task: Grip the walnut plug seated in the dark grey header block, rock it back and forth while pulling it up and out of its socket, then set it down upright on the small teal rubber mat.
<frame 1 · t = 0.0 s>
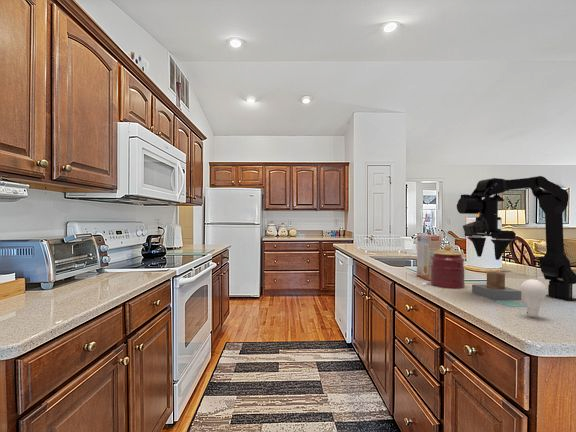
hand: (488, 258, 117), 15 cm above the countertop, tool pointing down, fingers open, 9 cm apart
plug: (495, 295, 120), resting on header
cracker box: (428, 278, 158), on the countertop
header: (495, 297, 120), on the countertop
canister: (447, 287, 139), on the countertop
lightbulb: (533, 318, 96), on the countertop
mat: (511, 305, 109), on the countertop
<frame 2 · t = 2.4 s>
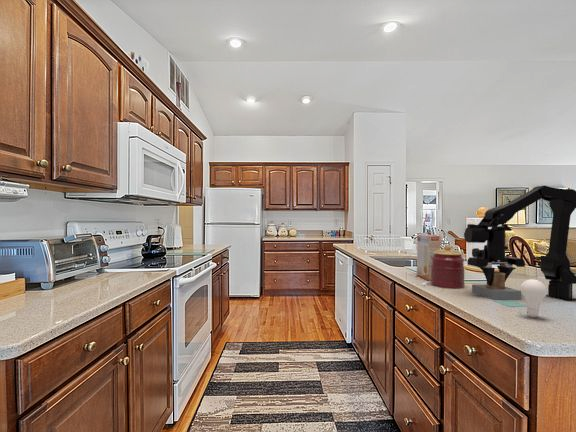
hand: (495, 285, 120), 4 cm above the countertop, tool pointing down, fingers closed on plug, 4 cm apart
plug: (495, 295, 120), resting on header, touching gripper
everything else where it was.
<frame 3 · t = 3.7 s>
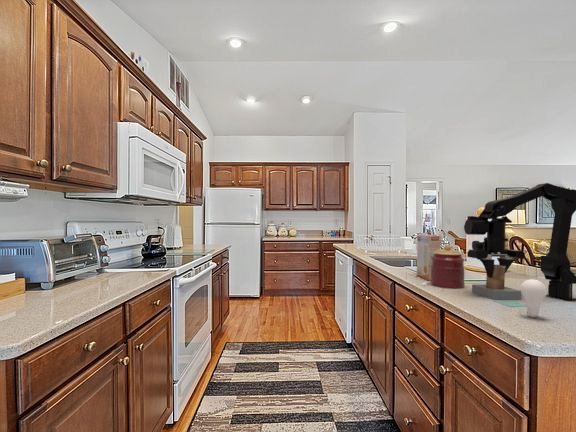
hand: (495, 277, 120), 7 cm above the countertop, tool pointing down, fingers closed on plug, 4 cm apart
plug: (494, 288, 120), point 3 cm above the countertop, touching gripper
everything else where it was.
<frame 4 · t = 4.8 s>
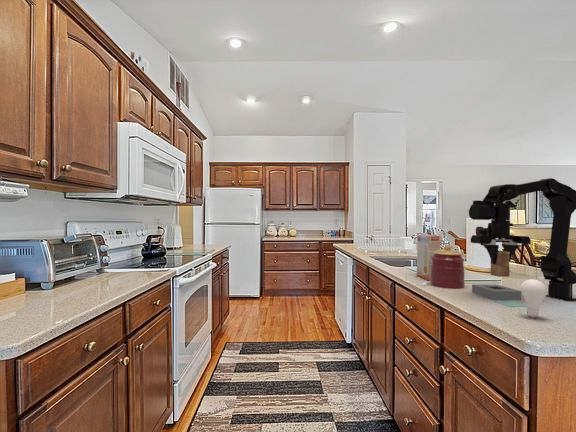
hand: (499, 264, 117), 13 cm above the countertop, tool pointing down, fingers closed on plug, 4 cm apart
plug: (499, 275, 117), point 8 cm above the countertop, touching gripper
everything else where it was.
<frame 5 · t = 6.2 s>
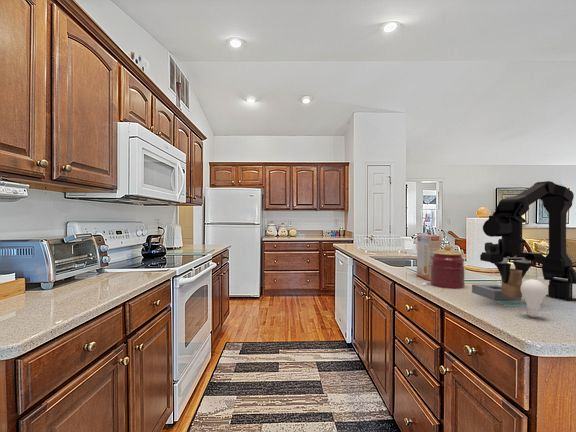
hand: (511, 283, 109), 7 cm above the countertop, tool pointing down, fingers closed on plug, 4 cm apart
plug: (511, 295, 109), point 3 cm above the countertop, touching gripper
everything else where it was.
when the fingers open (5 cm above the countertop, at t = 7.3 s): plug stays where it is, resting on mat.
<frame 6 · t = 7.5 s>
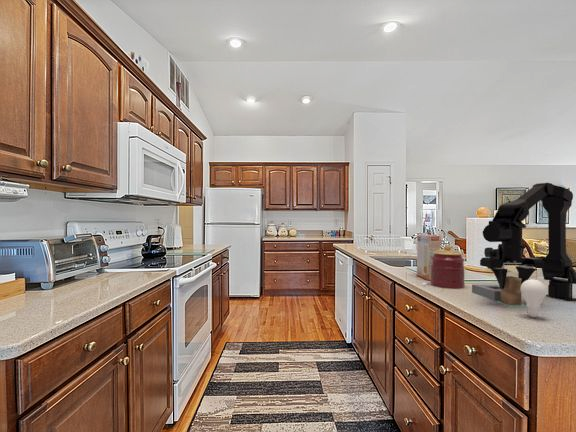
hand: (511, 288, 109), 5 cm above the countertop, tool pointing down, fingers open, 6 cm apart
plug: (510, 303, 109), point 1 cm above the countertop, touching mat
everything else where it was.
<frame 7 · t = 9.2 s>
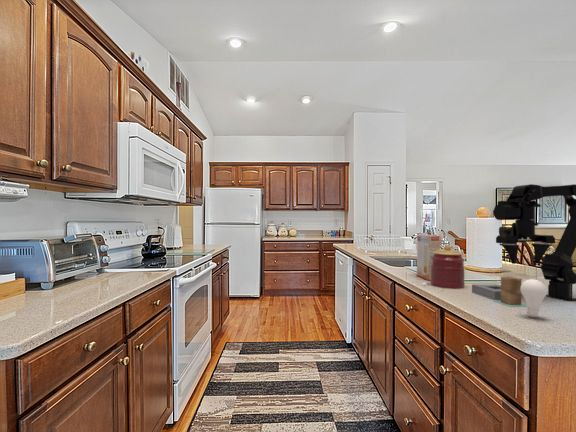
hand: (525, 263, 118), 13 cm above the countertop, tool pointing down, fingers open, 9 cm apart
nothing on the countertop moved.
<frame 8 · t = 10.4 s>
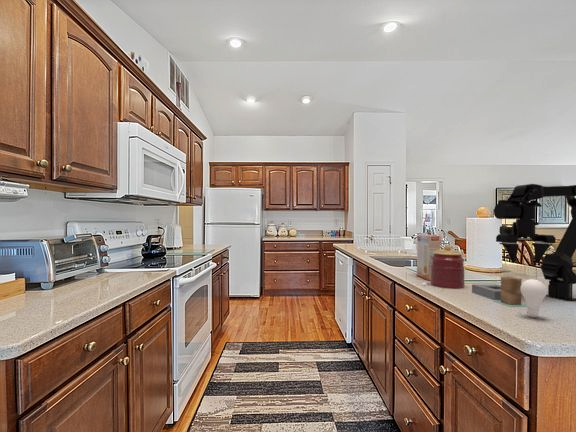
hand: (525, 262, 118), 13 cm above the countertop, tool pointing down, fingers open, 9 cm apart
nothing on the countertop moved.
at the end: plug inside the target area on the mat (0.1 cm from its centre), point 0.6 cm above the mat's base; plug tilted 0°; plug touching mat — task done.
